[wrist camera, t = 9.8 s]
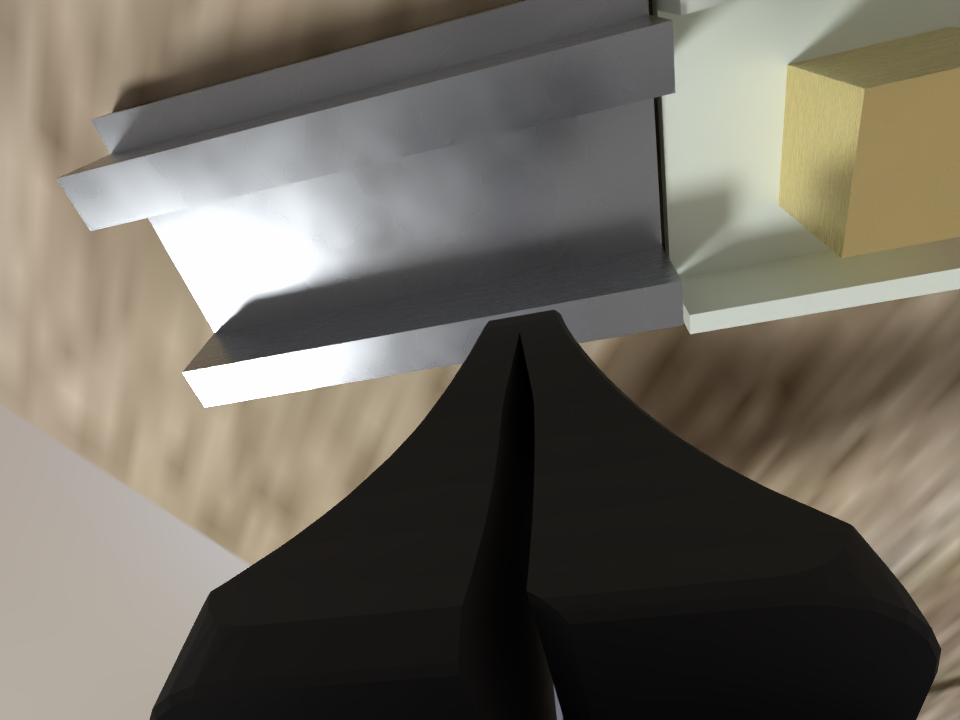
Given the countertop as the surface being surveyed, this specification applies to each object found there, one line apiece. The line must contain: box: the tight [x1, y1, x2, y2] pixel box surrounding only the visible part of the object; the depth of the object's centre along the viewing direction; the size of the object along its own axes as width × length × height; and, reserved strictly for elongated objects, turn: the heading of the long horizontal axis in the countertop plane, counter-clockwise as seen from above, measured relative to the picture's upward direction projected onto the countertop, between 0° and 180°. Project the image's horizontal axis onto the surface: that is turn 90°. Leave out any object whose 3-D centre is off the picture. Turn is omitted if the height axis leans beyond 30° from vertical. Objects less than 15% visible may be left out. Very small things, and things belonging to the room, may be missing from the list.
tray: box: [652, 0, 960, 334], centre depth 15 cm, size 9×13×3 cm
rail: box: [57, 0, 684, 407], centre depth 17 cm, size 10×16×4 cm, turn 103°
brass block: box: [778, 27, 960, 258], centre depth 14 cm, size 4×4×4 cm
